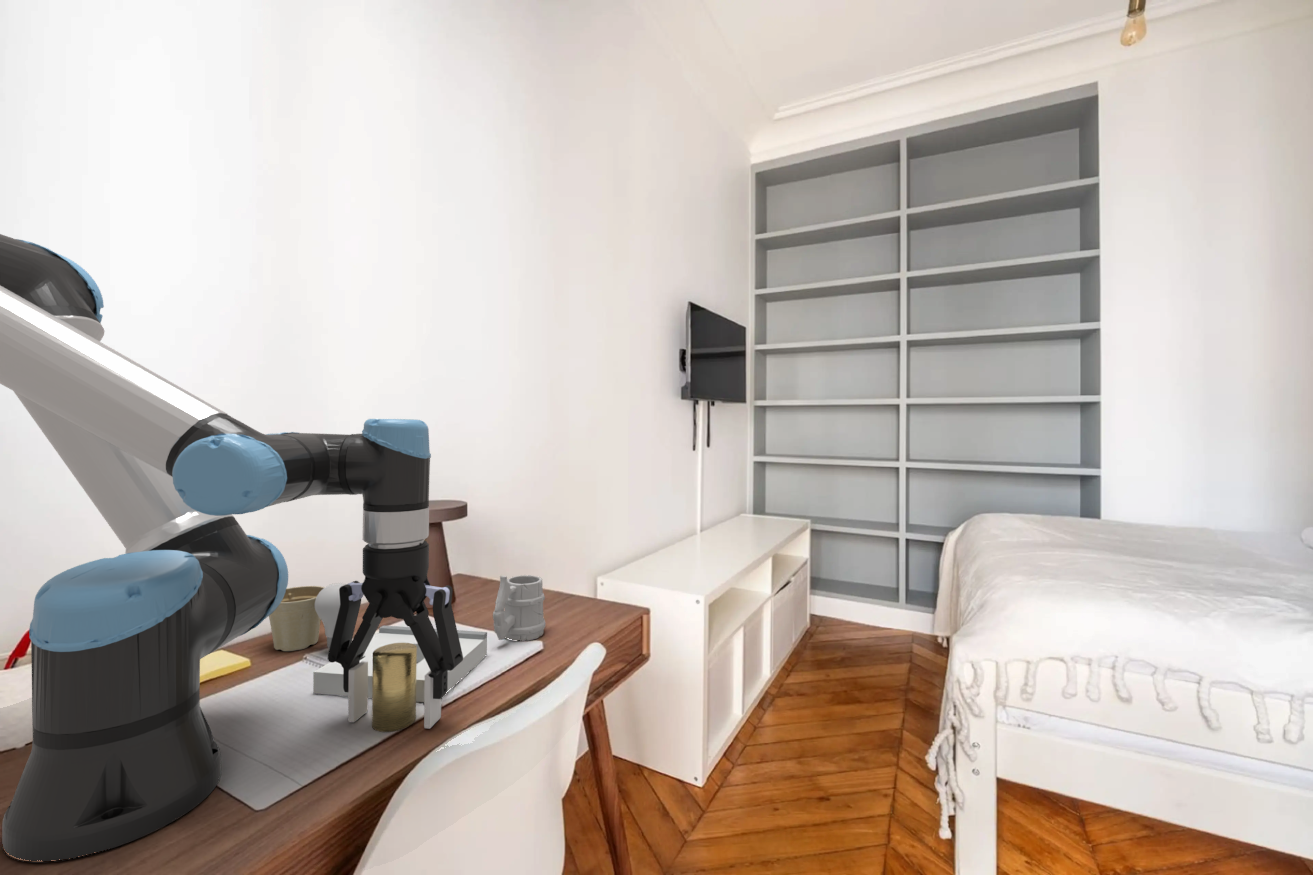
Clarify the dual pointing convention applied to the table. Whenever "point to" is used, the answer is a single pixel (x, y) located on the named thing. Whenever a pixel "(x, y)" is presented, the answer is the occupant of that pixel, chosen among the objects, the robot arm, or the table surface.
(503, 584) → the mug
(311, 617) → the flower pot
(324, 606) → the lightbulb
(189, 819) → the table surface
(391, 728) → the gold cylinder
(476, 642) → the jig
